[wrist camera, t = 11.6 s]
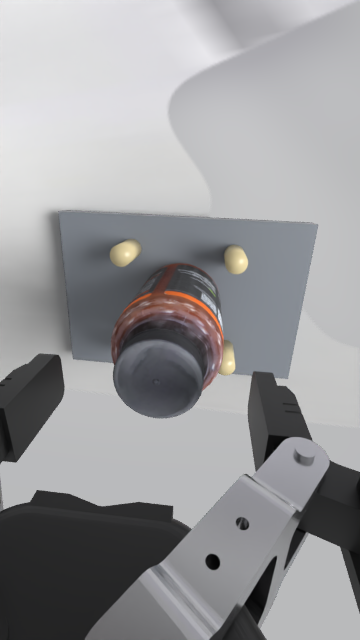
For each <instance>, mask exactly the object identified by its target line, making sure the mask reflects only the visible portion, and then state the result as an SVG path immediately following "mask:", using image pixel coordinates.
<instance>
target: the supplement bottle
mask: <svg viewBox="0 0 360 640" xmlns="http://www.w3.org/2000/svg"><path fill="white" fill-rule="evenodd" d="M223 350H224V344H223V328H222V312H221V298H220V294H219V291H218V287H217V286H216V284H215V282H214V281H213V279H212V278H211V277H210V276H209V275H208V274H207V273H206V272H205V271H203V270H202V269H200V268H198V267H196V266H194V265H190V264H184V263H176V264H170V265H166V266H164V267H162V268H160V269H159V270H157V271H156V272H155V273H153V274H152V275H151V276H150V277H149V278H148V280H147V281H146V282H145V283H144V285H143V286H142V287H141V289H140V290H139V291H138V293H137V294H136V295H135V297H134V298H133V299H132V301H131V302H130V303H129V305H128V306H127V307H126V308H125V310H124V312H123V313H122V314H121V316H120V317H119V319H118V320H117V322H116V324H115V326H114V329H113V332H112V337H111V356H112V360H113V363H114V365H115V366H114V370H113V380H114V386H115V388H116V391H117V393H118V395H119V397H120V398H121V399H122V400H123V402H124V403H125V404H126V405H127V406H129V407H130V408H131V409H133V410H134V411H136V412H138V413H140V414H142V415H145V416H148V417H153V418H170V417H175V416H178V415H181V414H183V413H185V412H186V411H188V410H190V409H191V408H192V407H193V406H194V405H195V403H196V402H197V400H198V399H199V397H200V396H201V392H202V391H203V390H204V389H205V388H206V387H207V386H208V385H209V384H210V383H211V382H212V381H213V380H214V378H215V377H216V375H217V374H218V372H219V370H220V367H221V364H222V360H223Z"/></svg>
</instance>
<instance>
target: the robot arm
mask: <svg viewBox="0 0 360 640" xmlns="http://www.w3.org/2000/svg"><path fill="white" fill-rule="evenodd" d="M63 395H64V380H63V372H62V365H61V359H60V357H59V355H53V354H38V355H37V356H36V357H35V358H34V359H33V360H32V361H31V362H29V363H28V364H25V365H23V366H21V367H19V368H17V369H15V370H13V371H12V372H11V373H10V374H9V375H8V376H7V377H6V378H5V379H3V380H2V381H1V382H0V463H1V462H2V461H8V462H17V461H18V460H19V458H20V457H21V455H22V454H23V453H24V451H25V450H26V449H27V447H28V446H29V444H30V443H31V442H32V440H33V439H34V438H35V436H36V435H37V433H38V432H39V430H40V429H41V428H42V426H43V425H44V424H45V422H46V421H47V420H48V418H49V417H50V415H51V414H52V413H53V411H54V410H55V408H56V407H57V406H58V405H59V403H60V402H61V400H62V398H63ZM248 422H249V429H250V435H251V442H252V449H253V456H254V462H255V469H256V473H255V474H254V475H253V476H252V477H250V476H248V475H247V474H244V475H242V476H241V477H240V478H239V479H238V480H237V481H236V482H235V483H234V484H233V485H232V486H231V487H230V488H229V489H228V491H227V492H226V493H225V494H224V495H223V496H222V497H221V498H220V500H218V502H217V503H216V504H215V505H214V506H213V507H212V508H211V509H210V510H209V511H208V513H206V515H205V516H204V517H203V518H202V519H201V520H200V521H199V522H198V523H197V525H196V526H195V527H194V528H193V529H191V528H189V527H188V526H187V525H185V524H183V523H182V522H180V521H178V520H175V519H173V506H168V505H159V504H150V503H142V502H136V503H128V504H120V505H112V506H103V507H102V506H97V505H95V504H92V503H90V502H88V501H85V500H83V499H80V498H78V497H76V496H73V495H71V494H65V493H57V492H48V491H39V490H37V491H36V493H35V495H34V497H33V498H32V500H31V501H30V502H28V503H24V504H19V505H15V506H12V507H9V508H7V509H5V510H3V501H2V491H1V481H0V640H266V638H265V637H264V635H263V634H262V632H261V630H260V628H261V626H262V624H263V622H264V620H265V618H266V616H267V615H268V613H269V611H270V609H271V607H272V605H273V602H274V600H275V598H276V595H277V593H278V590H279V588H280V586H281V583H282V581H283V579H284V577H285V575H286V574H287V572H288V570H289V568H290V566H291V565H292V563H293V561H294V559H295V557H296V556H297V554H298V552H299V550H300V548H301V547H302V545H303V543H304V541H305V539H306V537H307V536H308V534H309V533H310V534H312V535H315V536H317V537H319V538H322V539H324V540H326V541H329V542H331V543H333V544H336V545H338V546H340V548H341V551H342V554H343V558H344V561H345V565H346V568H347V571H348V575H349V578H350V582H351V585H352V589H353V592H354V595H355V599H356V602H357V606H358V609H359V612H360V472H358V471H355V470H352V469H349V468H346V467H343V466H341V465H338V464H336V463H334V462H332V461H330V460H329V457H328V455H327V453H326V452H325V450H323V448H322V447H321V446H319V445H318V444H316V443H315V442H313V441H312V438H311V435H310V433H309V430H308V428H307V425H306V423H305V420H304V417H303V415H302V414H301V410H300V407H299V406H298V402H297V399H296V397H295V395H294V394H293V393H292V392H291V391H290V390H289V389H288V388H287V387H286V386H277V384H276V381H275V378H274V374H273V373H271V372H259V371H254V372H253V374H252V381H251V388H250V395H249V402H248Z"/></svg>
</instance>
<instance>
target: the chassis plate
mask: <svg viewBox="0 0 360 640" xmlns="http://www.w3.org/2000/svg"><path fill="white" fill-rule="evenodd" d="M58 212H59V222H60V232H61V242H62V252H63V262H64V273H65V283H66V293H67V303H68V313H69V323H70V333H71V344H72V354H73V359H77V360H88V361H99V362H109V363H113V360H112V356H111V337H112V332H113V329H114V326H115V324H116V322H117V320H118V319H119V317H120V316H121V314H122V313H123V312H124V310H125V308H126V307H127V306H128V305H129V303H130V302H131V301H132V299H133V298H134V297H135V295H136V294H137V293H138V291H139V290H140V289H141V287H142V286H143V285H144V283H145V282H146V281H147V280H148V278H149V277H150V276H151V275H152V274H153V273H155V272H156V271H157V270H159V269H160V268H162V267H164V266H166V265H170V264H176V263H184V264H190V265H194V266H196V267H198V268H200V269H202V270H203V271H205V272H206V273H207V274H208V275H209V276H210V277H211V278H212V279H213V281H214V282H215V284H216V286H217V287H218V291H219V294H220V298H221V312H222V328H223V344H224V350H223V360H222V364H221V367H220V370H219V372H218V373H219V374H221V375H230V374H240V375H251V376H252V374H253V372H254V371H259V372H271V373H273V374H274V378H284V379H288V375H289V370H290V365H291V360H292V355H293V350H294V345H295V340H296V335H297V330H298V325H299V319H300V314H301V309H302V304H303V299H304V294H305V289H306V284H307V279H308V274H309V268H310V264H311V259H312V254H313V248H314V244H315V239H316V234H317V229H318V224H315V223H309V222H289V221H268V220H249V219H229V218H210V217H190V216H170V215H150V214H130V213H111V212H91V211H71V210H66V211H58Z"/></svg>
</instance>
